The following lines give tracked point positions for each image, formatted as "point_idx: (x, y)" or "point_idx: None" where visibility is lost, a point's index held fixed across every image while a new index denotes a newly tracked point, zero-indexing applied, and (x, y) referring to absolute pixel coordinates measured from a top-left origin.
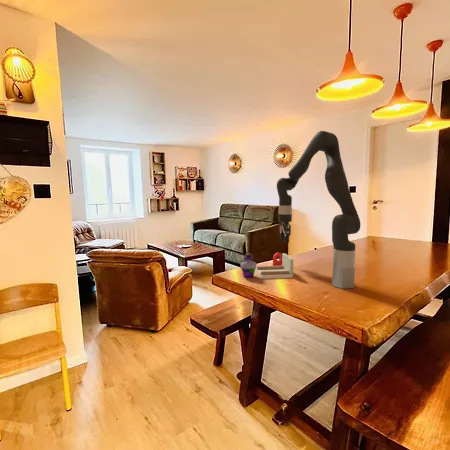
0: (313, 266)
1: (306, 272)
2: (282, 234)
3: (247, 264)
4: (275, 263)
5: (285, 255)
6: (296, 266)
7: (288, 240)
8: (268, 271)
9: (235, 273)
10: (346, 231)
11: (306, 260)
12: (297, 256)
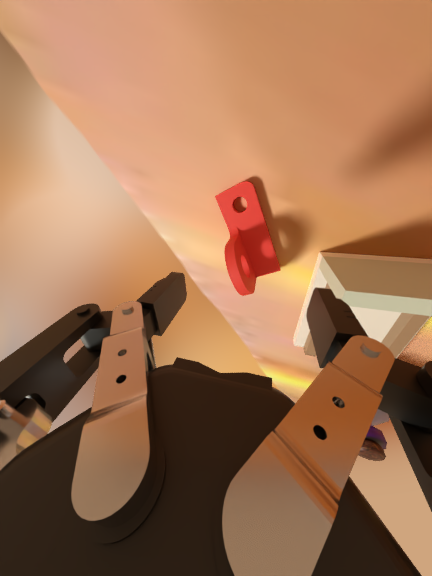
0: (310, 18)
1: (421, 146)
2: (160, 317)
3: (376, 423)
4: (253, 273)
5: (409, 311)
6: (276, 167)
7: (349, 308)
8: (394, 351)
9: (297, 381)
10: None
11: (149, 29)
12: (65, 77)
